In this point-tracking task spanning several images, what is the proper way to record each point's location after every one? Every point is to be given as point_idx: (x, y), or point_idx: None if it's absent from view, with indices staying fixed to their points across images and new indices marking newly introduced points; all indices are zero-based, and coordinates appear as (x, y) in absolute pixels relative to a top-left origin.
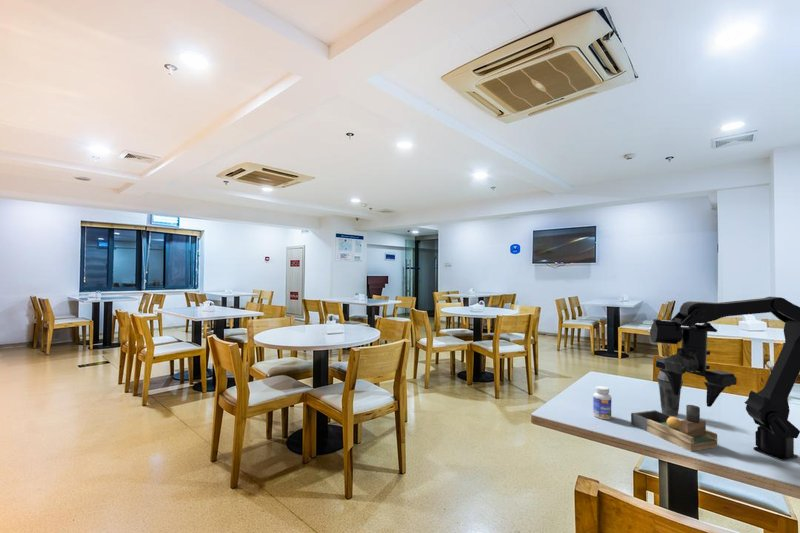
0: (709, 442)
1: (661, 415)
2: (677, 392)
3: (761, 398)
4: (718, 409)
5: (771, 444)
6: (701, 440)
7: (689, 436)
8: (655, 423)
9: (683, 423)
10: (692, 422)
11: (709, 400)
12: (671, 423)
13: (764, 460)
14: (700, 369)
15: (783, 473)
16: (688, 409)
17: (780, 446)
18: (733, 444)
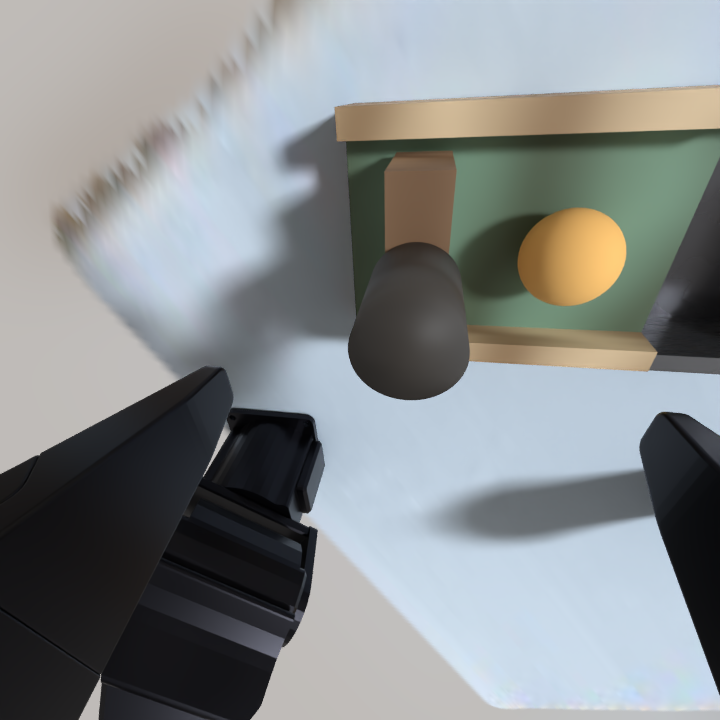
0: (355, 278)
1: (718, 351)
2: (659, 467)
3: (135, 665)
4: (586, 619)
5: (244, 447)
6: (368, 242)
7: (358, 126)
8: (677, 90)
9: (424, 167)
10: (390, 245)
11: (130, 409)
12: (567, 216)
13: (236, 363)
14: None
15: (142, 316)
16: (418, 287)
17: (228, 454)
18: (365, 401)
